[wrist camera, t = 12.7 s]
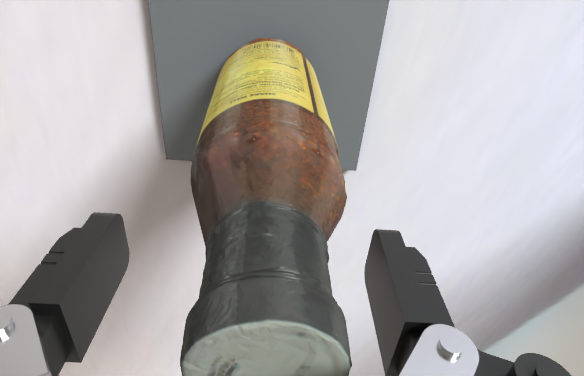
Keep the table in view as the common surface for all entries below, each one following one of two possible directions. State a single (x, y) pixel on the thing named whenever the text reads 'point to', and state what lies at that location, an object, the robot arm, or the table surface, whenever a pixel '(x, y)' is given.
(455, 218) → the table surface
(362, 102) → the placemat
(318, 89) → the sauce bottle
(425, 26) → the table surface
